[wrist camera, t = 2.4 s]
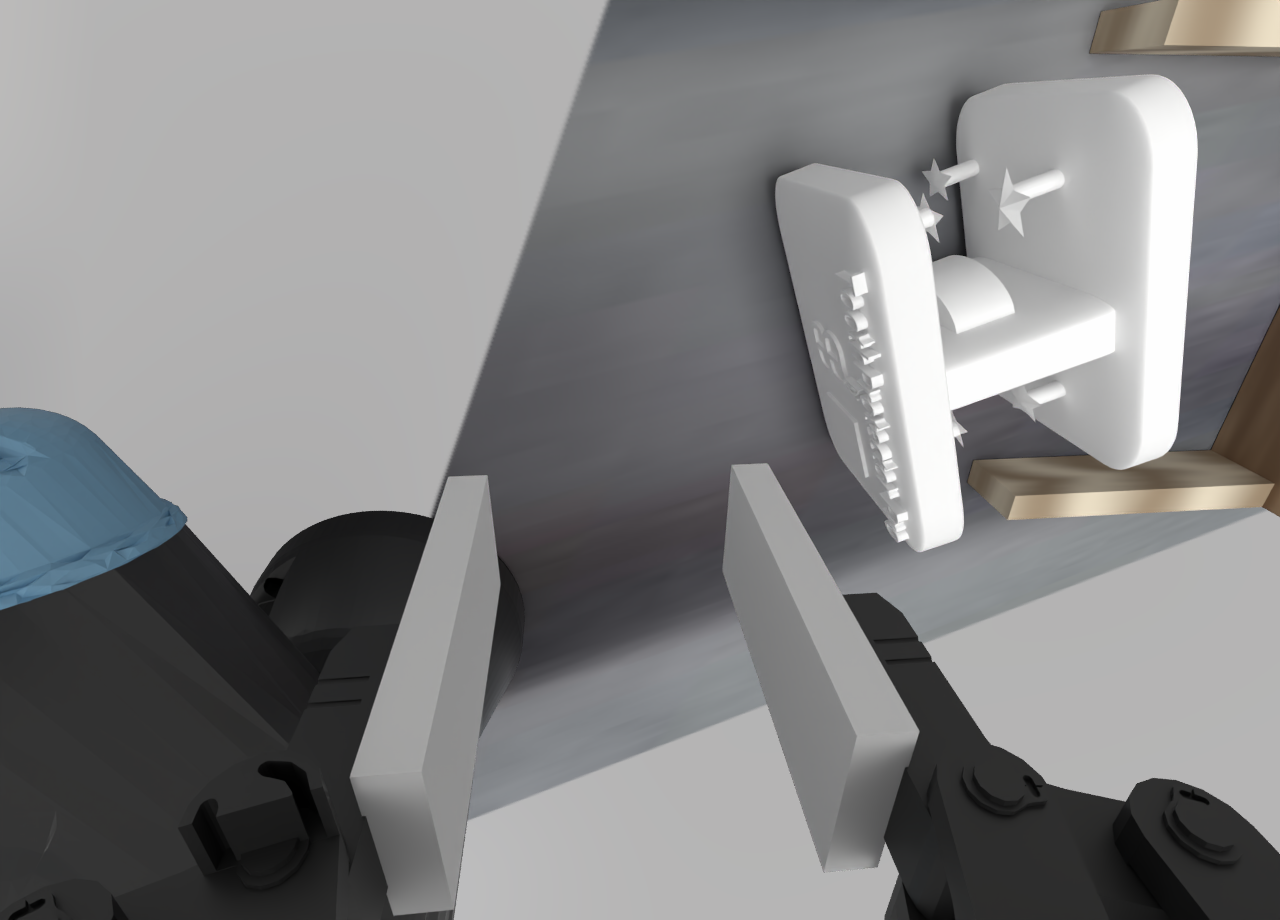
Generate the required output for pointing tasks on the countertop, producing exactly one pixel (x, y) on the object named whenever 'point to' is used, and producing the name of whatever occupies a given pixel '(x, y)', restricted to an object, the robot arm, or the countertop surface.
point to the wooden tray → (1276, 382)
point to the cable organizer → (1002, 288)
